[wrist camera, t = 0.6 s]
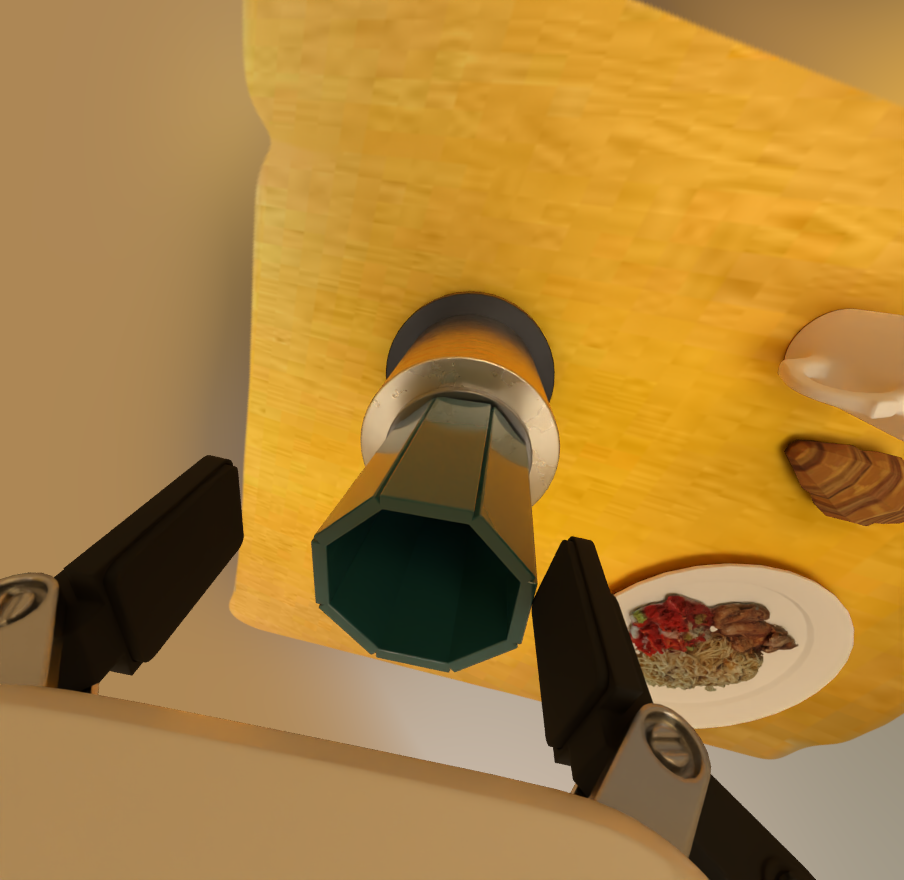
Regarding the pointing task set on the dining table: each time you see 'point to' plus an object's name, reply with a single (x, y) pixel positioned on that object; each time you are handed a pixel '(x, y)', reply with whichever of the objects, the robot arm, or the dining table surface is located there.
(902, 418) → the mug
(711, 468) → the dining table surface
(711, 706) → the plated food
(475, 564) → the teal cup
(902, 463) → the croissant
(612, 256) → the dining table surface
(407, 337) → the towel holder
